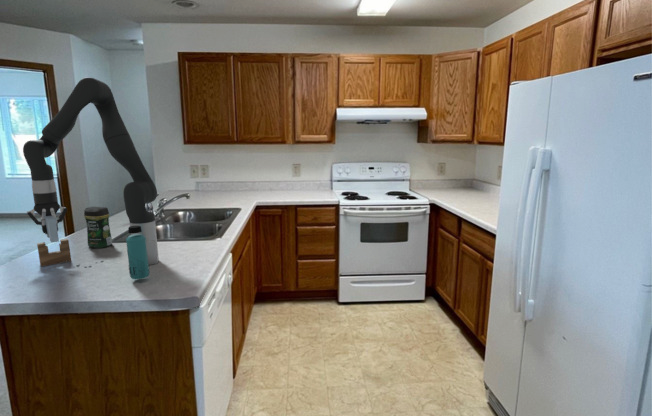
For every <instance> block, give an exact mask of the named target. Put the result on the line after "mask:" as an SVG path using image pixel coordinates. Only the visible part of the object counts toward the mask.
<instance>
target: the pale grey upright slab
mask: <svg viewBox="0 0 652 416" xmlns="http://www.w3.org/2000/svg"><path fill="white" fill-rule="evenodd" d="M45 219H46V227H47V234H46V237H47V238H48V239H49V241H50V243H57V242H60V241H59V240H60V239H59V233H58V232H59V230H58V231H57V224H56V219H57V218H56V219H55V218H54V217H53V216H52V215H51V216H45Z"/></svg>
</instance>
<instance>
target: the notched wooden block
mask: <svg viewBox="0 0 652 416" xmlns="http://www.w3.org/2000/svg"><path fill="white" fill-rule="evenodd" d="M59 240H60V241H59V242H60V243H58V247H59V250H56V251H50V252H49V247H48V245H46V244H47V243H46V242H45V241H43V242H38V243H36V246H37V252H38V259H39V265H40V267H48V266H52V265H57V264H61V263H62V264H63V263H66V262H72V255H71V249H70V242H69V241H70V240H69V239H68V238H63V239H59Z"/></svg>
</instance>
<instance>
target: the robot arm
mask: <svg viewBox="0 0 652 416" xmlns="http://www.w3.org/2000/svg"><path fill="white" fill-rule="evenodd" d="M90 103H91V104H93V105H94V108H95V109H96V111H97V112H98V115H99V118H100V120H101V125H102V127H101V129H102V130H101V133H102V134H101V135H102V139H103V142H104V144H105V147H106V148H107V151H108V153H109V155H111V157H112V158H113V159H115V161H116V162H117V163H118V164H120V165H121V166H122V167H123V168H124V169H125V170H126V171H127V172H128V173H129V175H130V176H131V178H132V181H131V182H128V183H126V184H125V186H124V187H123V201H124V207H125V214H126V216H127V217H128V221H129V227H130V226H134V225H139V226H141V230H142V232H139V233H130V235H134V234H142V235H143V236H145V237H146V248H147V256H148V263H149V264H148V266H151V265H155V264H156V265H157V264H158V263H159V259H160V258H159V249H158V239H157V236H158V235H157V228H156V215H155V213H154V212H152V211H148V210H147V207H146V206H147V205H146V204H149V203H153V202H154V201H155V200H156V199H157V196H158V190H157V186H156V185H155V183H154V181H153V179H152V177H151V176H150V174H149V173H148V171H147V169H146V167H145V166H144V164H143V160H141V157H140V155H139V153H138V150H137V149H136V147H135V143H134V142H133V140H132V137H131V135H130V133H129V131H128V129H127V127H126V125H125V122H124V121H123V118H122V117H121V114H120V112H119V109H118V107H117V103H116V99H115V97H114V94H113V92H112V89H111V88H110V86H109V85H107V83H105V82H103V81H101V80H99V79H97V78H94V77H91V76H89V77H88V76H87V77H83V78H82V79H80V80H79V81H78V82H77V84H76V85H75V87H74V88H73V90H72V92H71V93H70V95H69V96H68V98H67V99H66V100H65V102H64V104H63V105H62V106H61V108H60V110H59V111H58V112H57V113H56V114H55V116H54V117H53V118H51V120H49V122H47V124H46V125H45V126H44V127H43V128H42V130H41V134H42V135H41V137H40V138H39V139H32V140H28V141H25V143H24V144H23V147H22V153H23V156H24V160H25V161H26V164H27V165H28V167H29V171H30V176H31V189H32V191H31V192H32V196H33V202H34V206H33V209H31V210H28V211H26V214H27V215H28V217H29V218H30V219H31V220H32V221H33V222H34V224H35V225H38V226H41V230H42V233H43V234H45V235H47V227H46V219H45V216H51V215H52V216H53V217H54V218H55V219H56V224H57V231H58V232H59V225H58V224H59V223H61V222H63V221H64V219H65V216H66V214H67V212H68V208H67V207H65V206H64V207H63V206H61V205H60V204H59V201H58V193H57V185H56V182H55V178H54V171H53V170H54V169H53V167H52V166H51V165H50V164H47V161H46V158H49V157H50V156H52V155H53V154H54V153H56V151H57V149H58V148H59V146H60V144H61V143H62V141H63V140H65V138H66V137H67V136H68V134H70V133H71V131H72V130H73V129H74V127H75V125H76V123H77V120H78V117H79V115H80V113H81V111H82V110H83V109H84V108H85V107H86V106H88V105H90ZM58 211H60V214H59V216H58V218H57V216H56V214H57V213H58ZM35 212H36V213H37V214H38V215H39V216H40V221H39V220H38V219H37V218H36V216H35V215H36V213H35Z"/></svg>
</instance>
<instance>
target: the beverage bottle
mask: <svg viewBox="0 0 652 416" xmlns="http://www.w3.org/2000/svg"><path fill="white" fill-rule="evenodd" d="M127 232H128V234H129V235H128V237H126V239H125V242H126V251H127V252H126V253H127V259H128V271H129V277H130V278H131V279H132V280H140V279H141V280H142V279H146V278H148V277H149V276H150V265H148V264H149V263H148V256H147V248H146V237H145V236H143V235H142V234H134V235H131V233H139V232H142V230H141V226H139V225H134V226H130V225H129V227H128V231H127Z"/></svg>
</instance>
